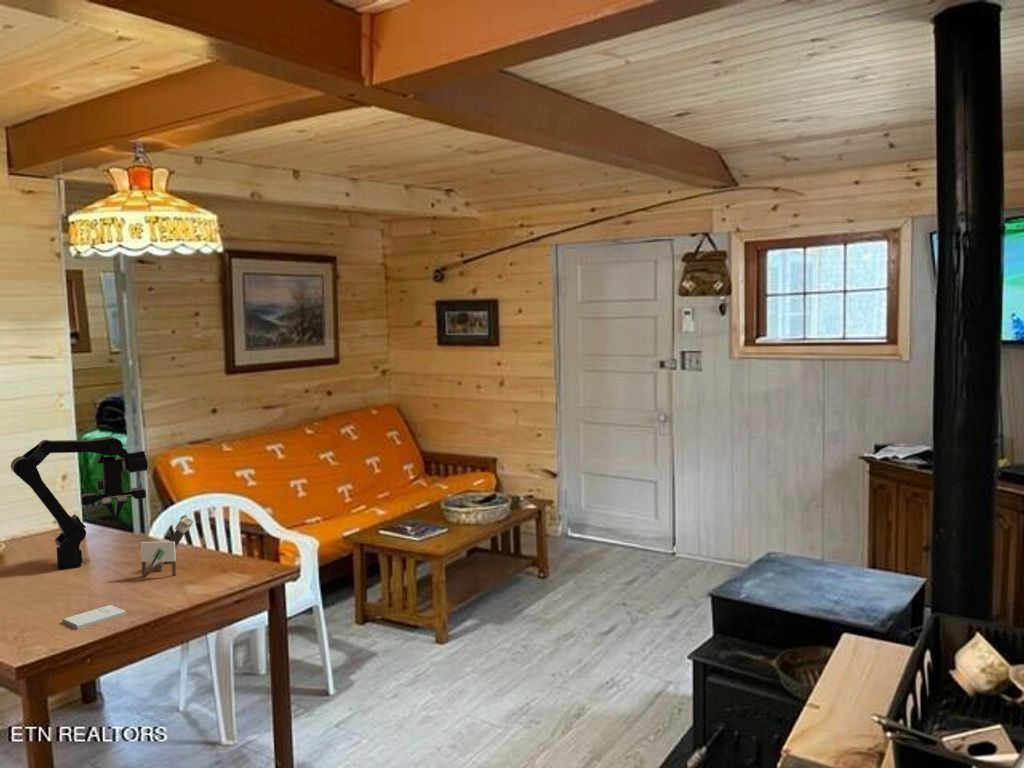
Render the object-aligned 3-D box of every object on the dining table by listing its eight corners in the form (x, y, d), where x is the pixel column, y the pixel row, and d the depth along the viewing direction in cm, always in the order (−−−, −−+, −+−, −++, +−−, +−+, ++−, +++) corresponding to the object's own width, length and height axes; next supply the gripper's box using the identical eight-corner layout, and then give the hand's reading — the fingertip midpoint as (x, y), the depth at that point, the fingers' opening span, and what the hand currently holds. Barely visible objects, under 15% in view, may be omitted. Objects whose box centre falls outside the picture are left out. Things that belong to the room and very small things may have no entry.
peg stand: (142, 576, 242) (141, 561, 242) (161, 562, 256) (160, 548, 256) (175, 575, 242) (175, 561, 242) (193, 561, 256) (192, 547, 256)
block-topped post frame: (144, 567, 241) (167, 528, 240) (163, 553, 255) (185, 516, 254) (152, 572, 241) (175, 533, 240) (172, 557, 255) (193, 521, 255)
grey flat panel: (141, 561, 241) (140, 542, 241) (142, 561, 242) (141, 542, 242) (174, 561, 242) (173, 542, 241) (175, 560, 242) (174, 541, 242)
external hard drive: (62, 624, 206) (110, 609, 215) (77, 631, 201) (126, 616, 211) (62, 618, 205) (110, 604, 215) (77, 625, 201) (125, 610, 210)
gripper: (141, 468, 271) (143, 512, 272) (79, 474, 261) (81, 520, 263) (145, 473, 261) (147, 519, 263) (80, 479, 252) (83, 528, 253)
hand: (115, 521), depth 260 cm, fingers closed
